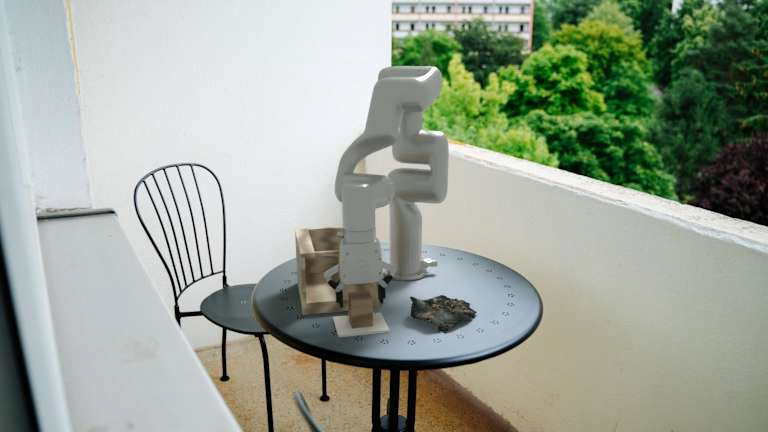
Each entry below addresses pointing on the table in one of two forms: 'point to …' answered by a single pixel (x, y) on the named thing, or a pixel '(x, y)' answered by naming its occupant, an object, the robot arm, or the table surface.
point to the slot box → (322, 271)
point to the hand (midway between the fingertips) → (360, 303)
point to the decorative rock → (441, 311)
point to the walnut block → (360, 309)
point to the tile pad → (345, 328)
